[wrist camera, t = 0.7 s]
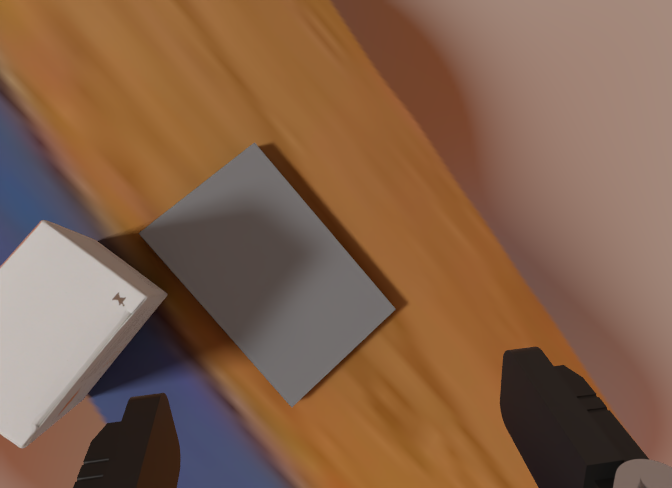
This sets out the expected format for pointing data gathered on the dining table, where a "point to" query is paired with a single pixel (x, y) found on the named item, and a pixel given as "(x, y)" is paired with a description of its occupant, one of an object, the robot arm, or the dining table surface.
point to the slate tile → (269, 273)
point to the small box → (62, 324)
